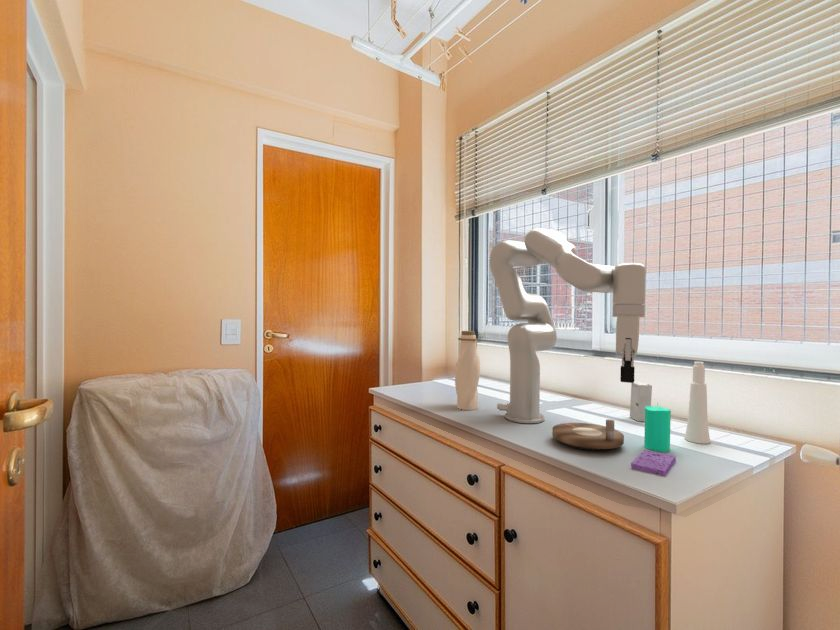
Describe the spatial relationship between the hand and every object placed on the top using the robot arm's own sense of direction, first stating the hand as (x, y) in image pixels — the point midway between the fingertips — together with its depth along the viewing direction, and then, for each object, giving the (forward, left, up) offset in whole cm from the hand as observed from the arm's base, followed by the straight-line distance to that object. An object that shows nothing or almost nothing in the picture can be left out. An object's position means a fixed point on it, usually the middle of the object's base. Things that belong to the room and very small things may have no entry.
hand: (627, 381), depth 109 cm
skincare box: (+5, +35, -18) cm, 39 cm away
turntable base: (-10, +1, -18) cm, 20 cm away
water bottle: (-52, +26, -18) cm, 60 cm away
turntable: (-9, +1, -16) cm, 19 cm away
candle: (+7, +5, -18) cm, 20 cm away
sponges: (+6, -9, -18) cm, 21 cm away
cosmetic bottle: (+18, +17, -18) cm, 31 cm away
